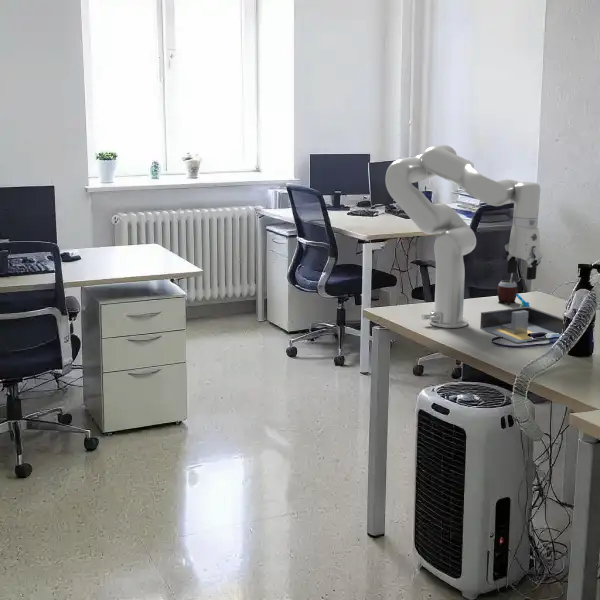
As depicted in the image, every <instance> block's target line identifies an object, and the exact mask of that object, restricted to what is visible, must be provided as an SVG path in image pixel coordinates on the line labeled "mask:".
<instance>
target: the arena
mask: <svg viewBox="0 0 600 600" xmlns="http://www.w3.org/2000/svg"><path fill="white" fill-rule="evenodd" d="M522 310H525V311H528V328H527V333H522V334H515V335H514V334H512V333H509V332H507V331H504V330H502V329H501V325H504V324H511V319H512V312H515V311H522ZM564 319H565V318H562V317H560V316H557V315H554V314H551V313H548V312H545V311H542V310H540V309H536V308H534V307H531V306H530V307H521V308H519V307H514V308H506V309H499V310H498V309H497V310H492V311H491V310H490V311H483V312H480V327H479V328H480V329H481V330H483V331H485V332H488V333H490V334H492V335H495V336H497V337H500V338H502V337H503V338H502V339H504V338H505V339H504V340H506V339H507V341H509V342H512V343H514V344H516V343H518V344H524V343H523V342H525V343H528V342H527V341H531V340H536V339H531V338H530V337H529V336H527V334H529V333H532V332H545V333H559V334H561V333H562V329H563V320H564Z"/></svg>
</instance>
